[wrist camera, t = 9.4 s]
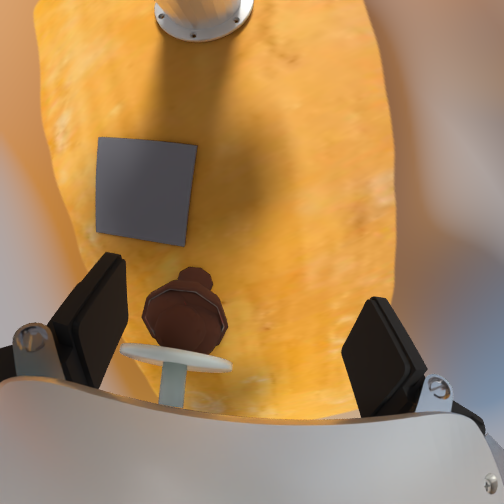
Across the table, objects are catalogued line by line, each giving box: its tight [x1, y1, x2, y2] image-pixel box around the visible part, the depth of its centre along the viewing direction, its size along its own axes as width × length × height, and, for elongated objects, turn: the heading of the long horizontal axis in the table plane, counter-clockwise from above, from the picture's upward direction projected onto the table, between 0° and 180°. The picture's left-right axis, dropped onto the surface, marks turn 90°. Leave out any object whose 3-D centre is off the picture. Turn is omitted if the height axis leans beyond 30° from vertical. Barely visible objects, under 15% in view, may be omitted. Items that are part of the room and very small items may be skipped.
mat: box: [96, 137, 197, 247], centre depth 36 cm, size 14×14×1 cm
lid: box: [120, 343, 233, 408], centre depth 29 cm, size 13×13×6 cm
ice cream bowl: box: [142, 267, 228, 355], centre depth 36 cm, size 11×11×15 cm
